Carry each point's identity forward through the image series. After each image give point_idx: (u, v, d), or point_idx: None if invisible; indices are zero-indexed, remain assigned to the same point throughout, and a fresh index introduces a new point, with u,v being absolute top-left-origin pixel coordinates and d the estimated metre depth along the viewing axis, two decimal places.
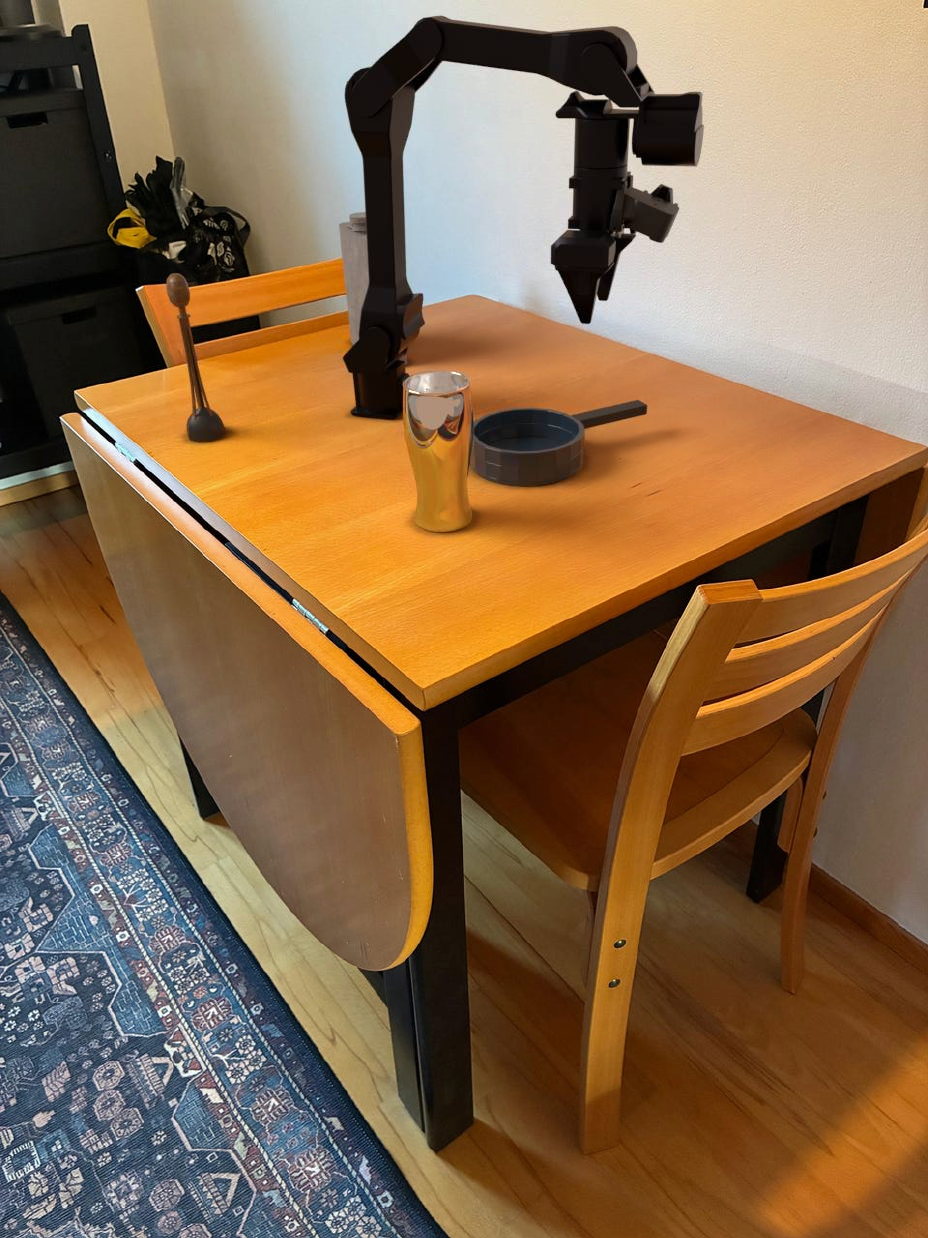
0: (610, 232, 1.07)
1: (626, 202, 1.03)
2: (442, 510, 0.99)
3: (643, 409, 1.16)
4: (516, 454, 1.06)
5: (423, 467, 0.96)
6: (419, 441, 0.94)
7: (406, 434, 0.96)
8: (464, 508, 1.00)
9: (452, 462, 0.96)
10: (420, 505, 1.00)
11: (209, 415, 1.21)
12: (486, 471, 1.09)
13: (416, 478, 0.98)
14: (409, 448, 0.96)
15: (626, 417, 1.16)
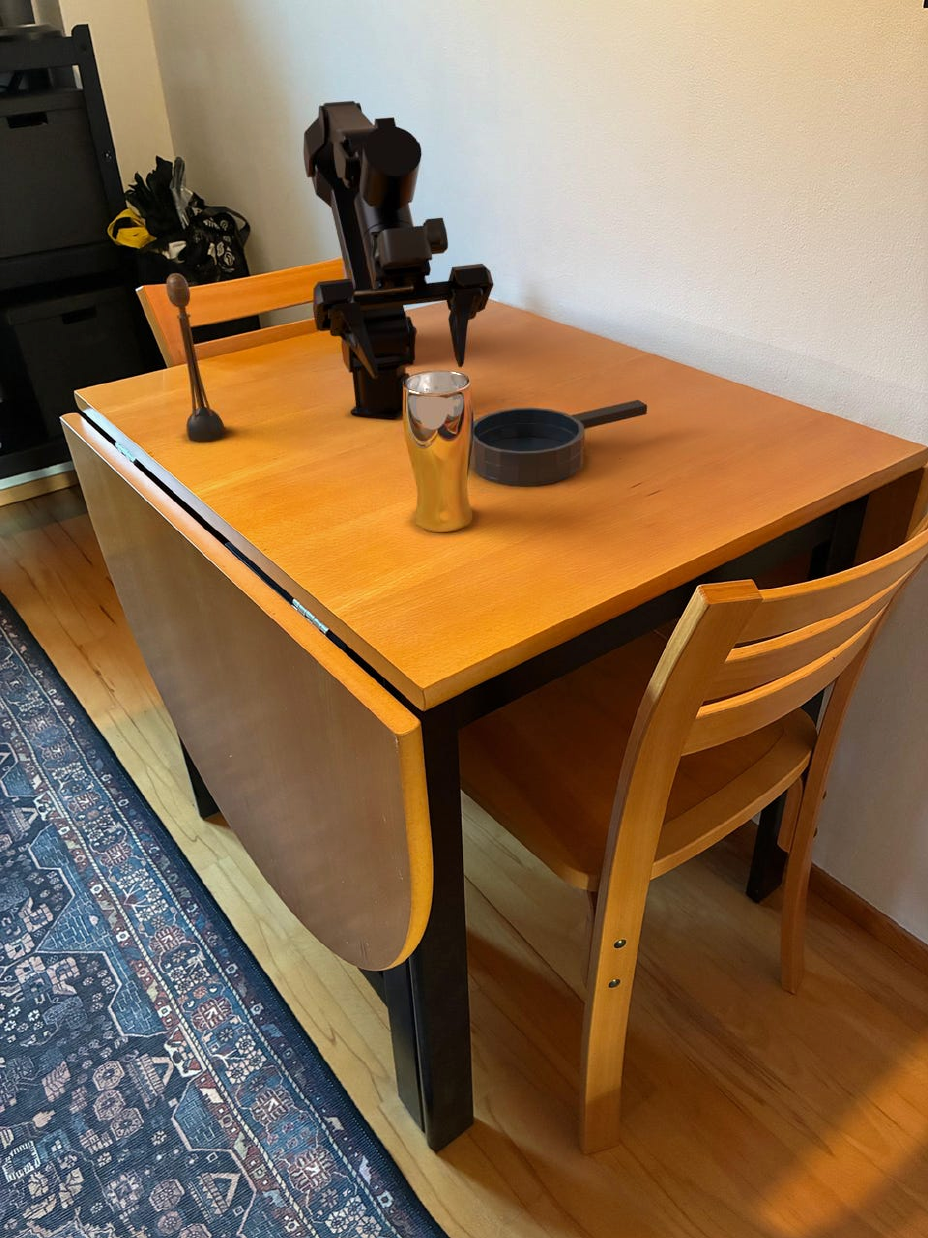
0: None
1: (376, 248, 1.00)
2: (442, 510, 0.99)
3: (643, 409, 1.16)
4: (516, 454, 1.06)
5: (423, 467, 0.96)
6: (419, 441, 0.94)
7: (406, 434, 0.96)
8: (464, 508, 1.00)
9: (452, 462, 0.96)
10: (420, 505, 1.00)
11: (209, 415, 1.21)
12: (486, 471, 1.09)
13: (416, 478, 0.98)
14: (409, 448, 0.96)
15: (626, 417, 1.16)
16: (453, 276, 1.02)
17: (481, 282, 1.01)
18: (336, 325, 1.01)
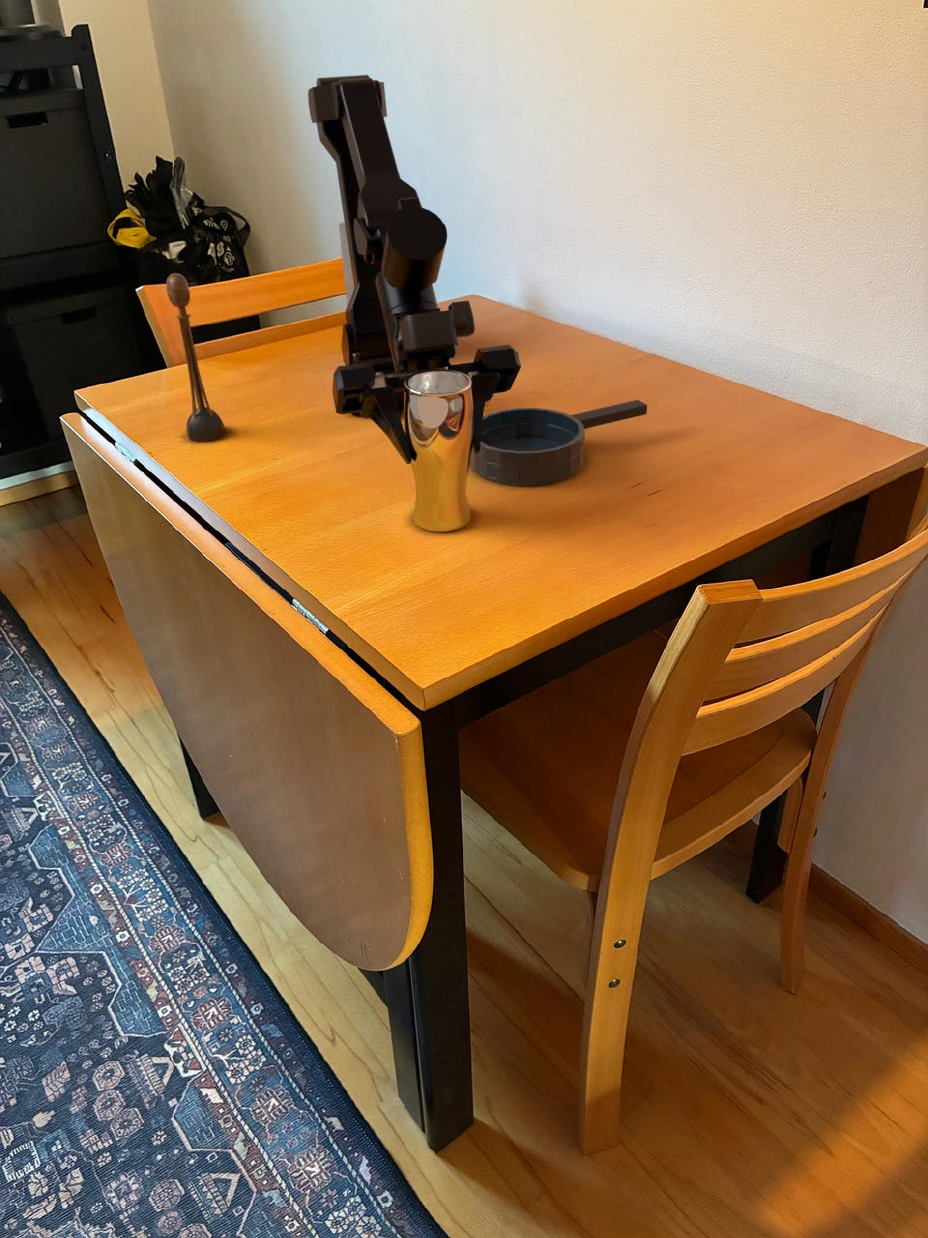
0: None
1: (399, 331, 0.95)
2: (441, 510, 0.99)
3: (643, 409, 1.16)
4: (516, 454, 1.06)
5: (423, 466, 0.96)
6: (419, 441, 0.94)
7: (407, 433, 0.95)
8: (463, 508, 1.00)
9: (452, 463, 0.95)
10: (418, 504, 1.00)
11: (209, 415, 1.21)
12: (486, 471, 1.09)
13: (415, 477, 0.98)
14: None
15: (626, 417, 1.16)
16: (479, 358, 0.98)
17: (508, 364, 0.97)
18: (368, 408, 0.97)
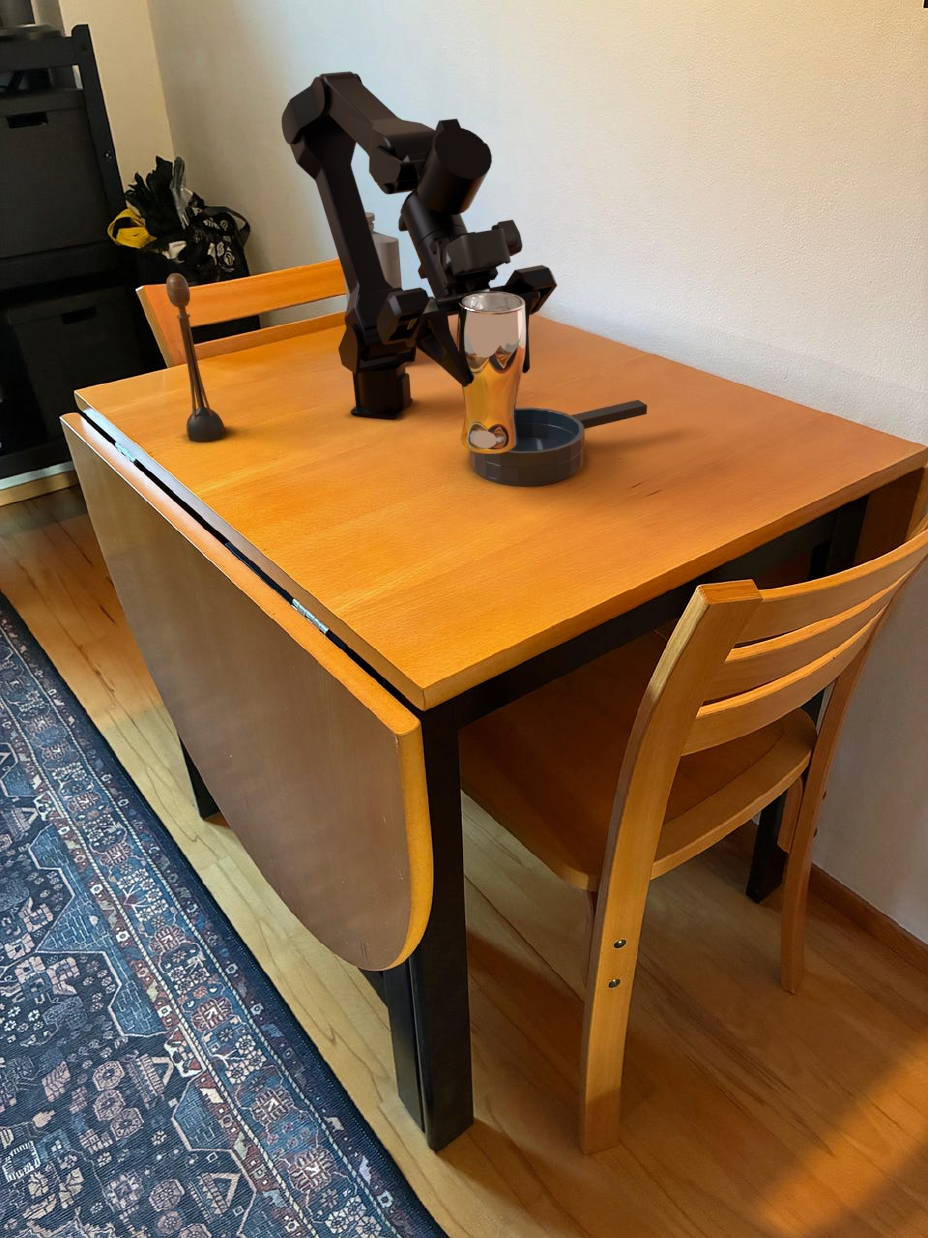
0: None
1: (444, 254, 0.96)
2: (496, 431, 1.00)
3: (643, 409, 1.16)
4: (516, 454, 1.06)
5: (481, 388, 0.97)
6: (480, 361, 0.95)
7: (463, 355, 0.96)
8: (514, 428, 1.02)
9: (510, 381, 0.97)
10: (472, 428, 1.01)
11: (209, 415, 1.21)
12: (486, 471, 1.09)
13: (470, 401, 0.99)
14: None
15: (626, 417, 1.16)
16: (516, 279, 1.00)
17: (547, 283, 1.00)
18: (417, 335, 0.97)
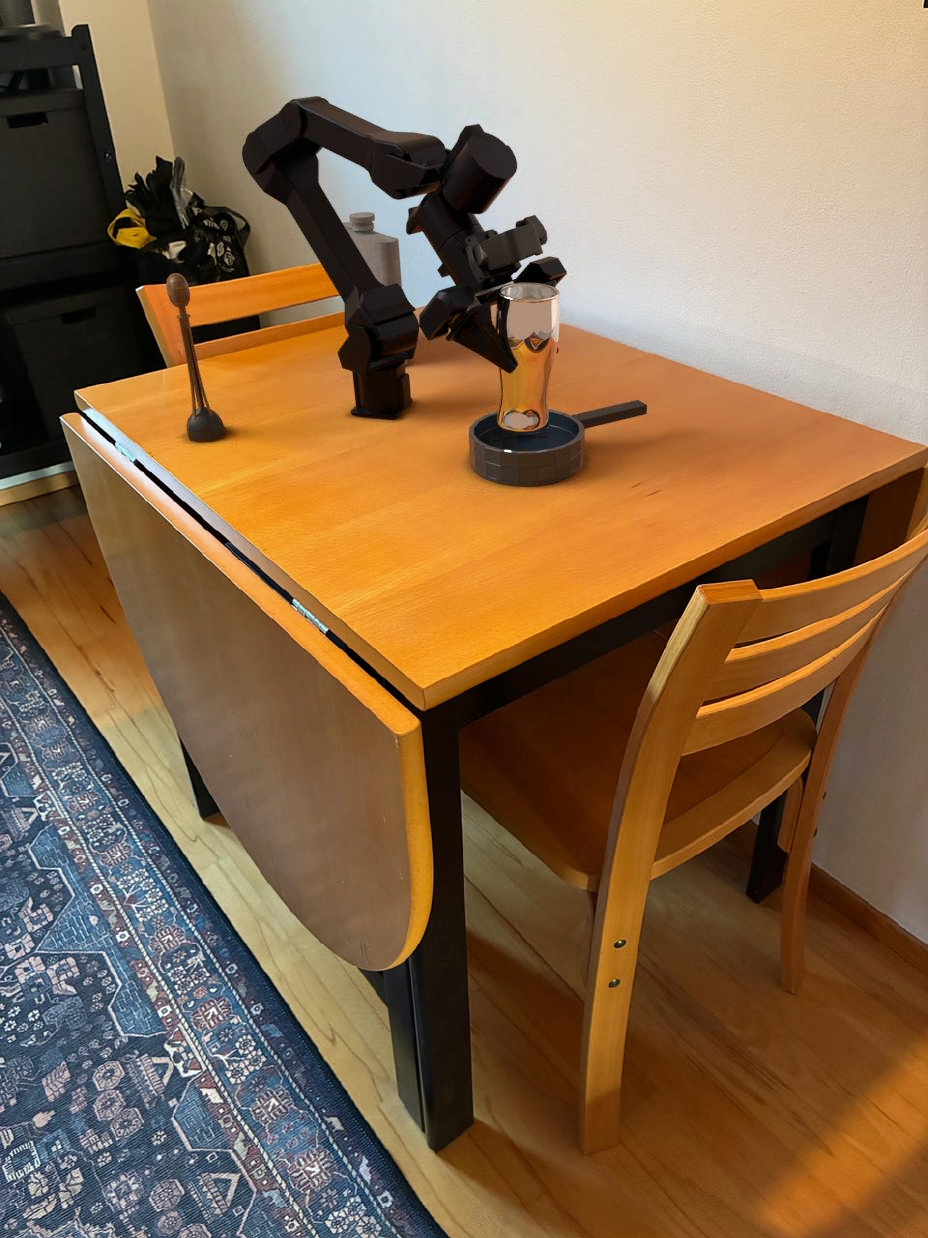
0: (505, 284, 1.06)
1: (476, 251, 1.02)
2: (537, 412, 1.08)
3: (643, 409, 1.16)
4: (516, 454, 1.06)
5: (525, 372, 1.04)
6: (527, 347, 1.02)
7: (508, 344, 1.03)
8: None
9: (550, 363, 1.05)
10: (513, 412, 1.08)
11: (209, 415, 1.21)
12: (486, 471, 1.09)
13: (512, 386, 1.06)
14: None
15: (626, 417, 1.16)
16: (532, 270, 1.08)
17: (561, 272, 1.08)
18: (460, 329, 1.03)
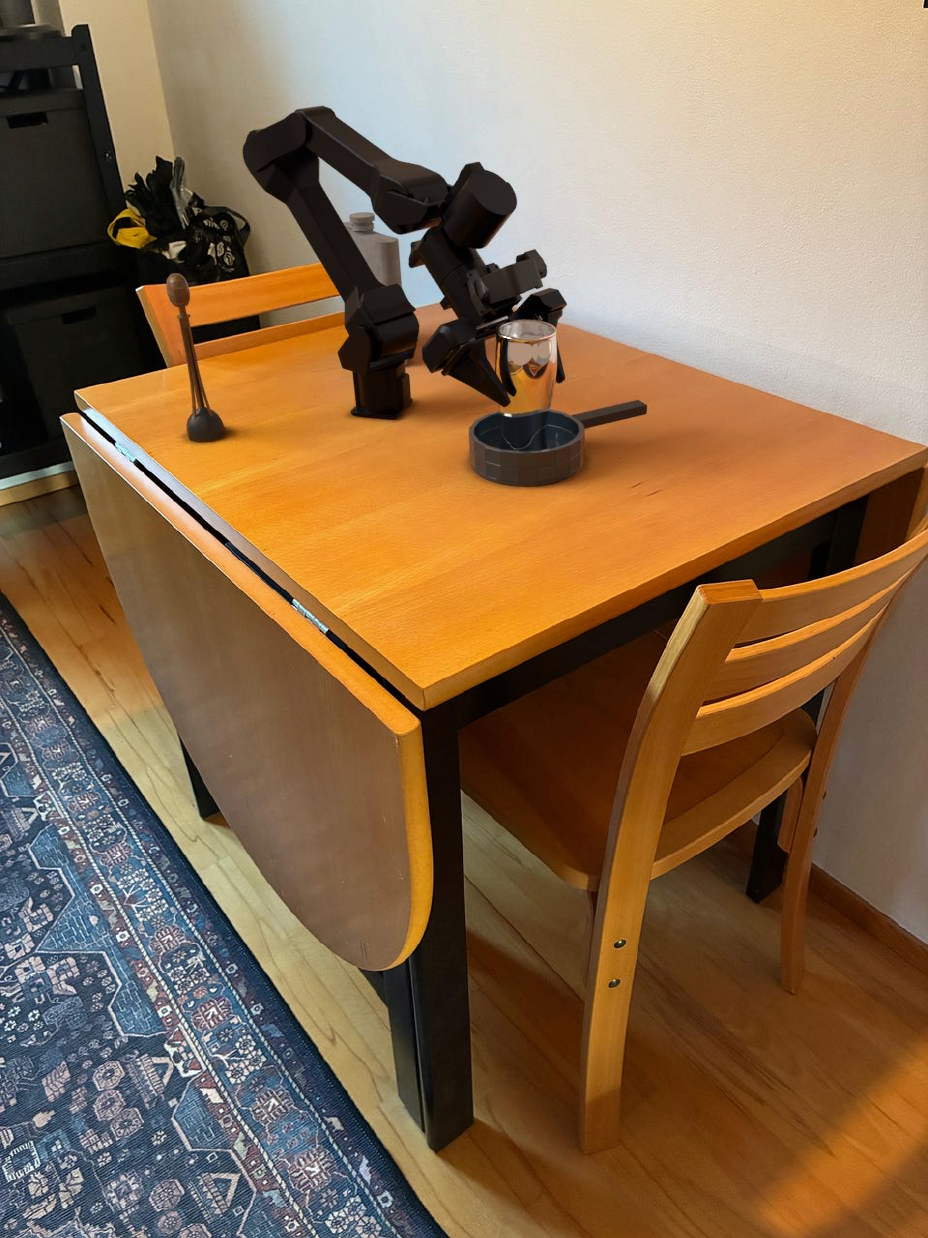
0: None
1: (478, 285, 1.04)
2: (537, 445, 1.10)
3: (643, 409, 1.16)
4: (516, 454, 1.06)
5: (524, 408, 1.07)
6: (525, 384, 1.05)
7: (507, 381, 1.05)
8: (547, 441, 1.12)
9: (549, 399, 1.07)
10: (513, 446, 1.10)
11: (209, 415, 1.21)
12: (486, 471, 1.09)
13: (511, 421, 1.08)
14: (510, 394, 1.06)
15: (626, 417, 1.16)
16: (533, 302, 1.10)
17: (561, 303, 1.10)
18: (455, 364, 1.04)
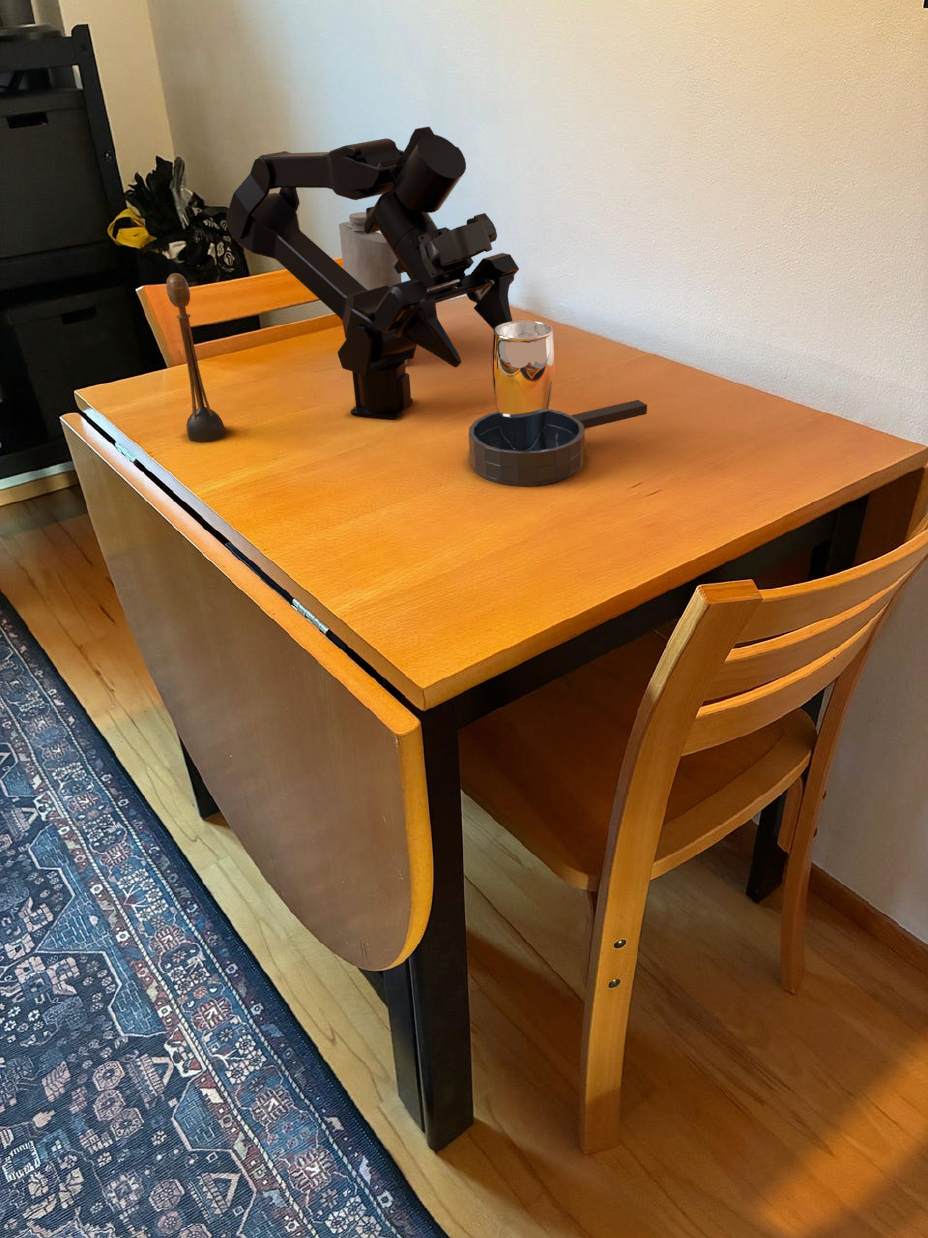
0: None
1: (429, 248, 1.07)
2: (536, 445, 1.10)
3: (643, 409, 1.16)
4: (516, 454, 1.06)
5: (523, 408, 1.07)
6: (523, 384, 1.05)
7: (505, 381, 1.05)
8: None
9: (547, 398, 1.07)
10: (513, 446, 1.10)
11: (209, 415, 1.21)
12: (486, 471, 1.09)
13: (510, 421, 1.08)
14: (508, 394, 1.06)
15: (626, 417, 1.16)
16: (485, 266, 1.13)
17: (512, 268, 1.13)
18: (407, 325, 1.07)
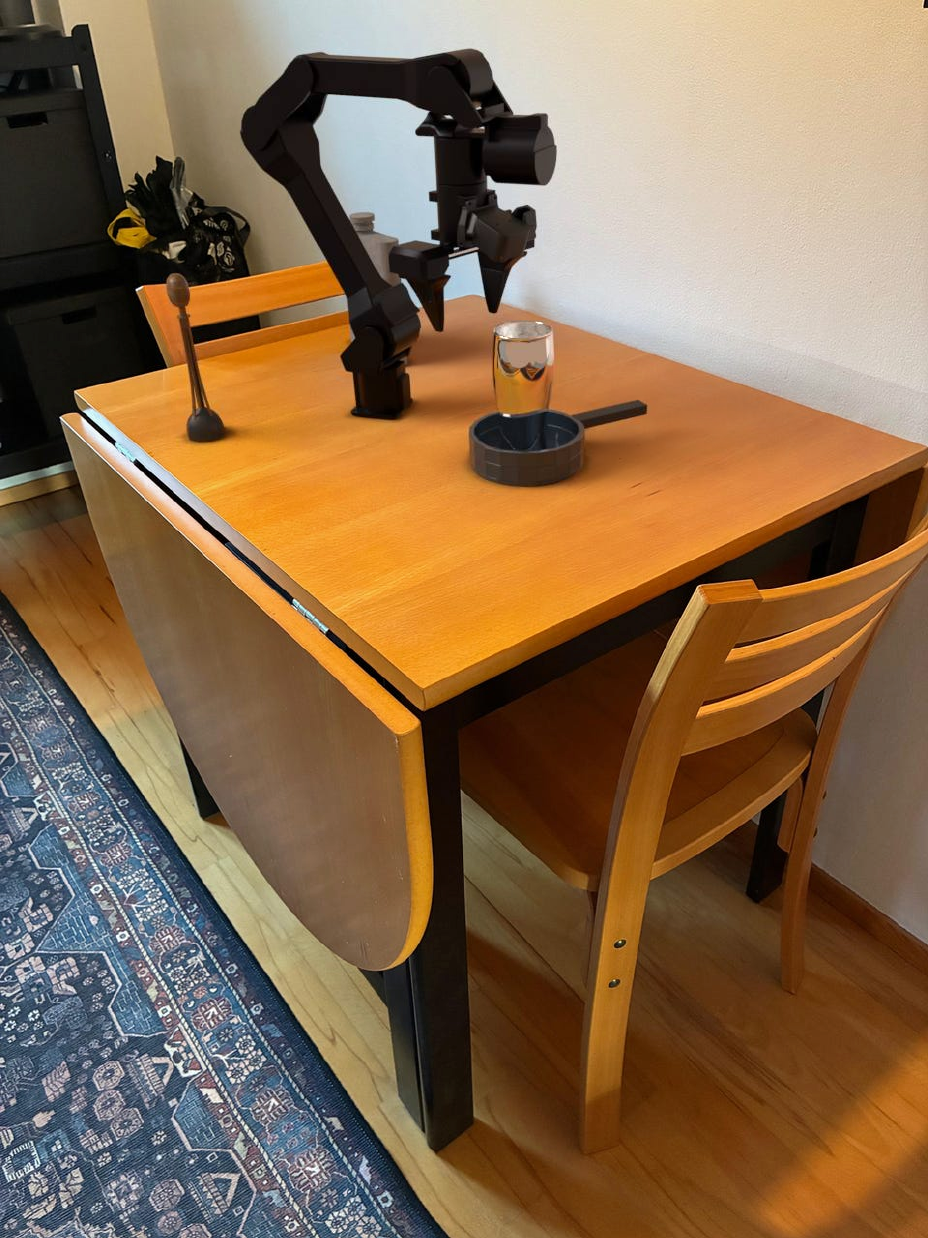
0: (472, 247, 1.10)
1: (470, 219, 1.06)
2: (536, 445, 1.10)
3: (643, 409, 1.16)
4: (516, 454, 1.06)
5: (523, 408, 1.07)
6: (523, 384, 1.05)
7: (505, 381, 1.05)
8: None
9: (547, 398, 1.07)
10: (513, 446, 1.10)
11: (209, 415, 1.21)
12: (486, 471, 1.09)
13: (510, 421, 1.08)
14: (508, 394, 1.06)
15: (626, 417, 1.16)
16: None
17: (529, 247, 1.15)
18: None
